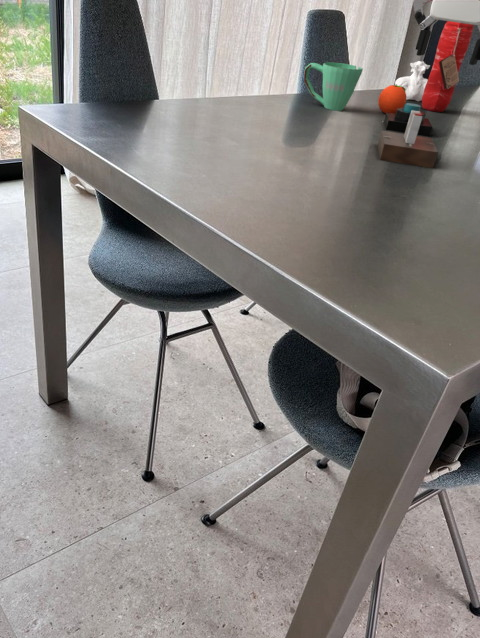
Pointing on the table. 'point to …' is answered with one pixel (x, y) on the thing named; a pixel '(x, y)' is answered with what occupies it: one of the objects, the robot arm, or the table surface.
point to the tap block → (407, 150)
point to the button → (411, 107)
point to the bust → (414, 81)
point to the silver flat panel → (412, 127)
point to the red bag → (446, 66)
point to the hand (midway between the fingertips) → (446, 59)
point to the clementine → (392, 99)
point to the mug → (334, 83)
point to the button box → (406, 122)
